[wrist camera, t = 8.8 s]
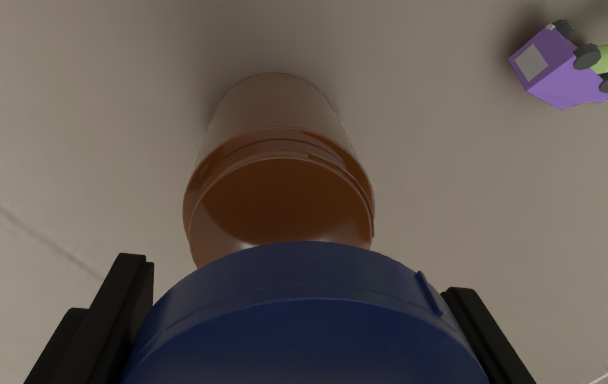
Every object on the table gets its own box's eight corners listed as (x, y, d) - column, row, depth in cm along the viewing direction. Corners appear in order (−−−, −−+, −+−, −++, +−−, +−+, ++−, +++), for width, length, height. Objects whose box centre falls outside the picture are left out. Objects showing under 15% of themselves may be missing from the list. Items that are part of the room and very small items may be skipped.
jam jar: (305, 212, 24) (328, 342, 16) (191, 169, 22) (147, 289, 14) (361, 105, 22) (424, 191, 13) (238, 49, 20) (219, 105, 12)
